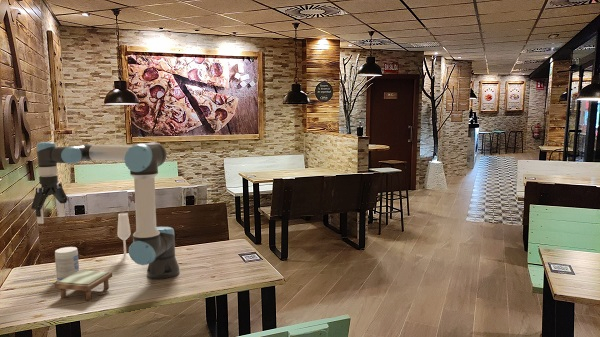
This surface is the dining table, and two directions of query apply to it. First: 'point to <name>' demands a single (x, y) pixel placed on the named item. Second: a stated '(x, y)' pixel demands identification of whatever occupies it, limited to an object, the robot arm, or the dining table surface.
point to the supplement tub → (66, 262)
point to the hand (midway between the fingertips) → (51, 219)
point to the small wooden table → (83, 282)
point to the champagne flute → (123, 231)
